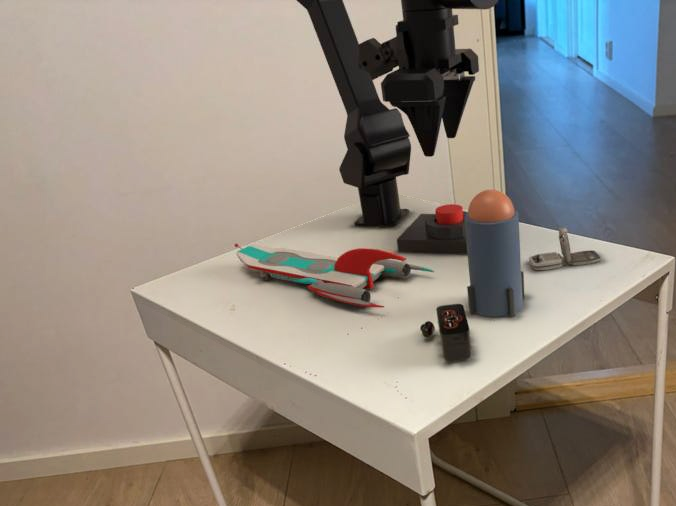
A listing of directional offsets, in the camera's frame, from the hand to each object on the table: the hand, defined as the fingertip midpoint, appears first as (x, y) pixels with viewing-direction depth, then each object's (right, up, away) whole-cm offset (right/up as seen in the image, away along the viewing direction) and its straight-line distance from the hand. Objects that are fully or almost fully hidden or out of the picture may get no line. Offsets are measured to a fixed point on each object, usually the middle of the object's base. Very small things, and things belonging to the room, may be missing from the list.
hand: (440, 146), depth 89 cm
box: (0, -10, +8) cm, 13 cm away
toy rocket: (+7, -21, -10) cm, 24 cm away
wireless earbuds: (+2, -25, -17) cm, 31 cm away
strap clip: (+15, -15, -1) cm, 21 cm away
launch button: (+1, -8, +5) cm, 10 cm away
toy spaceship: (-15, -17, -1) cm, 23 cm away
